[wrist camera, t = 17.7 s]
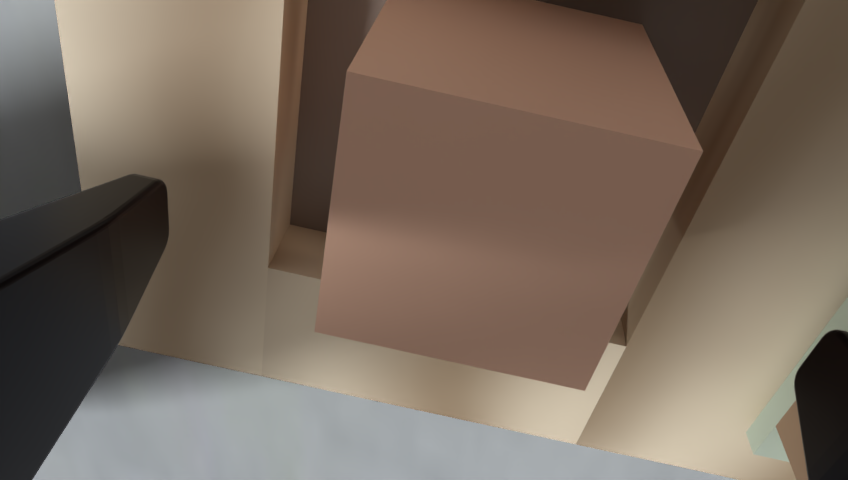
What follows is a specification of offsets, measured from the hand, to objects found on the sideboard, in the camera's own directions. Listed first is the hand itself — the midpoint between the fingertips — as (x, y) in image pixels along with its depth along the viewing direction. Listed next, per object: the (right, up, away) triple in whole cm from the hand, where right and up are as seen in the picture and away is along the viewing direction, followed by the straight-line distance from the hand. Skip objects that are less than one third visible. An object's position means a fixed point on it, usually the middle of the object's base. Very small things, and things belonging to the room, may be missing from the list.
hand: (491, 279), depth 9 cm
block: (0, +3, +5) cm, 6 cm away
